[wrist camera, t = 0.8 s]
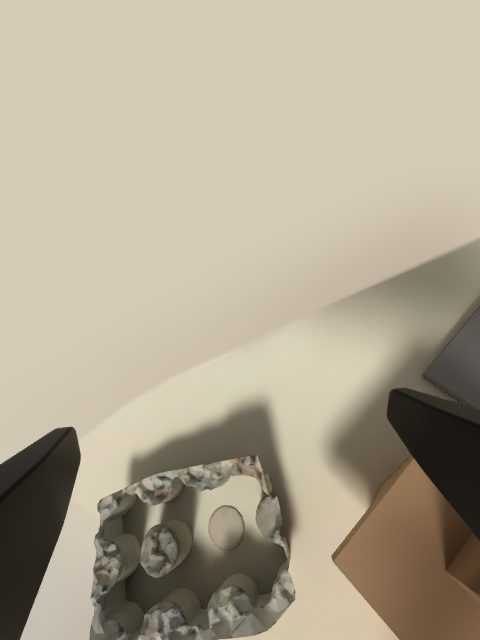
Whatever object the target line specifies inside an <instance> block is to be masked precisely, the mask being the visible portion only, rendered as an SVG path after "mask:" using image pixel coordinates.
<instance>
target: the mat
mask: <svg viewBox="0 0 480 640" xmlns="http://www.w3.org/2000/svg"><path fill="white" fill-rule="evenodd" d="M422 376H423V377H425V378H426V379H427V380H429V381H430V382H432V383H433V384H435V385H436V386H438V387H439V388H440V389H442V390H443V391H445V392H446V393H448V394H449V395H451V396H452V397H453V398H455V399H456V400H458V401H459V402H461V403H462V404H463V405H466V406H469V407H473V408H476V409H479V410H480V306H479V308H478V309H477V310H476V311H475V312H474V314H473V315H472V316H471V317H470V318H469V320H468V321H467V322H466V323H465V325H464V326H463V327H462V328H461V329H460V331H459V332H458V333H457V334H456V335H455V337H454V338H453V339H452V340H451V341H450V343H449V344H448V345H447V346H446V347H445V349H444V350H443V351H442V352H441V353H440V355H439V356H438V357H437V358H436V359H435V361H434V362H433V363H432V364H431V365H430V367H429V368H428V369H427V370H426V371H425V373H424V374H423V375H422Z"/></svg>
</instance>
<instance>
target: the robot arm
mask: <svg viewBox="0 0 480 640" xmlns="http://www.w3.org/2000/svg"><path fill="white" fill-rule="evenodd" d="M387 418H388V420H389V422H390V424H391V425H392V427H393V428H394V430H395V431H396V432H397V434H398V435H399V437H400V438H401V440H402V441H403V443H404V444H405V446H406V447H407V449H408V450H409V452H410V453H411V455H412V456H413V458H414V459H415V461H416V462H417V463H418V465H419V466H420V468H421V469H422V470H423V471H424V473H425V474H426V475H427V476H428V478H429V479H430V480H431V481H432V483H433V484H434V485H435V486H436V488H437V489H438V490H439V491H440V493H441V494H442V495H443V496H444V498H445V499H446V500H447V501H448V503H449V504H450V505H451V506H452V508H453V509H454V510H455V511H456V513H457V514H458V515H459V516H460V518H461V519H462V520H463V521H464V523H465V524H466V525H467V526H468V528H469V529H470V530H471V531H472V533H473V534H474V535H475V536H476V537H477V539H478V540H479V541H480V410H479V409H476V408H473V407H469V406H466V405H462V404H459V403H456V402H452V401H449V400H445V399H442V398H439V397H435V396H432V395H428V394H425V393H422V392H418V391H415V390H411V389H408V388H396V389H392V390H391V391H390V393H389V399H388V406H387ZM80 460H81V454H80V448H79V444H78V439H77V434H76V430H75V429H74V428H73V427H65V428H57V429H54V430H53V431H51V432H50V433H48V434H47V435H45V436H44V437H42V438H41V439H39V440H37V441H36V442H34V443H33V444H31V445H30V446H28V447H27V448H25V449H24V450H22V451H20V452H19V453H17V454H16V455H14V456H13V457H11V458H10V459H8V460H7V461H5V462H3V463H2V464H0V640H20V638H21V635H22V632H23V630H24V627H25V624H26V622H27V619H28V617H29V614H30V611H31V609H32V606H33V604H34V601H35V598H36V596H37V593H38V590H39V588H40V585H41V583H42V580H43V577H44V574H45V572H46V569H47V567H48V564H49V562H50V559H51V556H52V554H53V551H54V548H55V546H56V543H57V541H58V538H59V535H60V532H61V530H62V527H63V524H64V520H65V517H66V514H67V510H68V506H69V502H70V499H71V495H72V491H73V487H74V484H75V480H76V476H77V472H78V469H79V465H80Z"/></svg>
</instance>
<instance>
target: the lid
mask: <svg viewBox="0 0 480 640" xmlns="http://www.w3.org/2000/svg"><path fill="white" fill-rule="evenodd" d="M332 560H333V562H334V564H335V565H336V566H337V567H338V568H339V569H340V571H341V572H342V573H343V574H344V575H345V576H346V578H347V579H348V580H349V581H350V582H351V583H352V585H353V586H354V587H355V588H356V589H357V590H358V592H359V593H360V594H361V595H362V596H363V597H364V598H365V600H366V601H367V602H368V603H369V604H370V605H371V607H372V608H373V609H374V610H375V611H376V612H377V614H378V615H379V616H380V617H381V618H382V619H383V621H384V622H385V623H386V624H387V625H388V626H389V628H390V629H391V630H392V631H393V632H394V633H395V635H396V636H397V637H398V638H399V639H400V640H480V541H479V540H478V539H477V537H476V536H475V535H474V534H473V533H472V531H471V530H470V529H469V528H468V526H467V525H466V524H465V523H464V521H463V520H462V519H461V518H460V516H459V515H458V514H457V513H456V511H455V510H454V509H453V508H452V506H451V505H450V504H449V503H448V501H447V500H446V499H445V498H444V496H443V495H442V494H441V493H440V491H439V490H438V489H437V488H436V486H435V485H434V484H433V483H432V481H431V480H430V479H429V478H428V476H427V475H426V474H425V473H424V471H423V470H422V469H421V468H420V466H419V465H418V463H417V462H416V461H415V459H414V458H413V456H412V455H410V457H409V458H408V459H407V460H406V462H405V463H404V464H403V466H402V467H401V468H400V469H399V471H398V472H397V473H396V474H395V476H394V477H393V478H392V480H391V481H390V482H389V483H388V485H387V486H386V487H385V488H384V490H383V491H382V492H381V494H380V495H379V496H378V497H377V499H376V500H375V501H374V502H373V504H372V505H371V506H370V508H369V509H368V510H367V511H366V513H365V514H364V515H363V516H362V518H361V519H360V520H359V522H358V523H357V524H356V525H355V527H354V528H353V529H352V530H351V532H350V533H349V534H348V535H347V537H346V538H345V539H344V541H343V542H342V543H341V544H340V546H339V547H338V548H337V549H336V551H335V552H334V553H333V555H332Z"/></svg>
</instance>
